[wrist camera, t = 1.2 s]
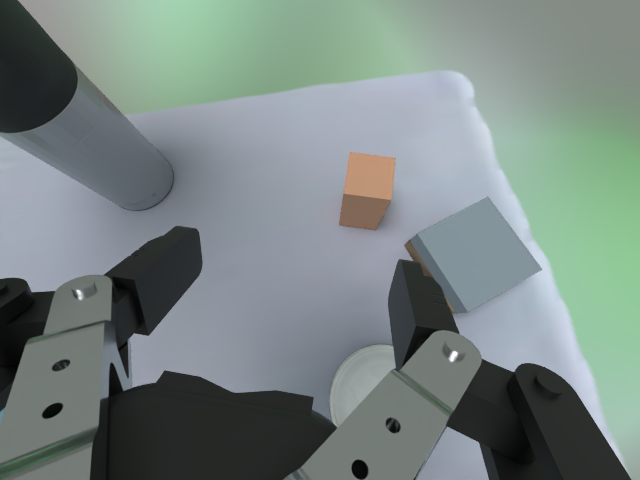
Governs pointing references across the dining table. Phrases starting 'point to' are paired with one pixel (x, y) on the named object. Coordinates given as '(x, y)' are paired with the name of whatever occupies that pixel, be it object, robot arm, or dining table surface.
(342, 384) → the ramekin
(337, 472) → the robot arm
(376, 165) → the terracotta block
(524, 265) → the slate top slab
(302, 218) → the dining table surface
